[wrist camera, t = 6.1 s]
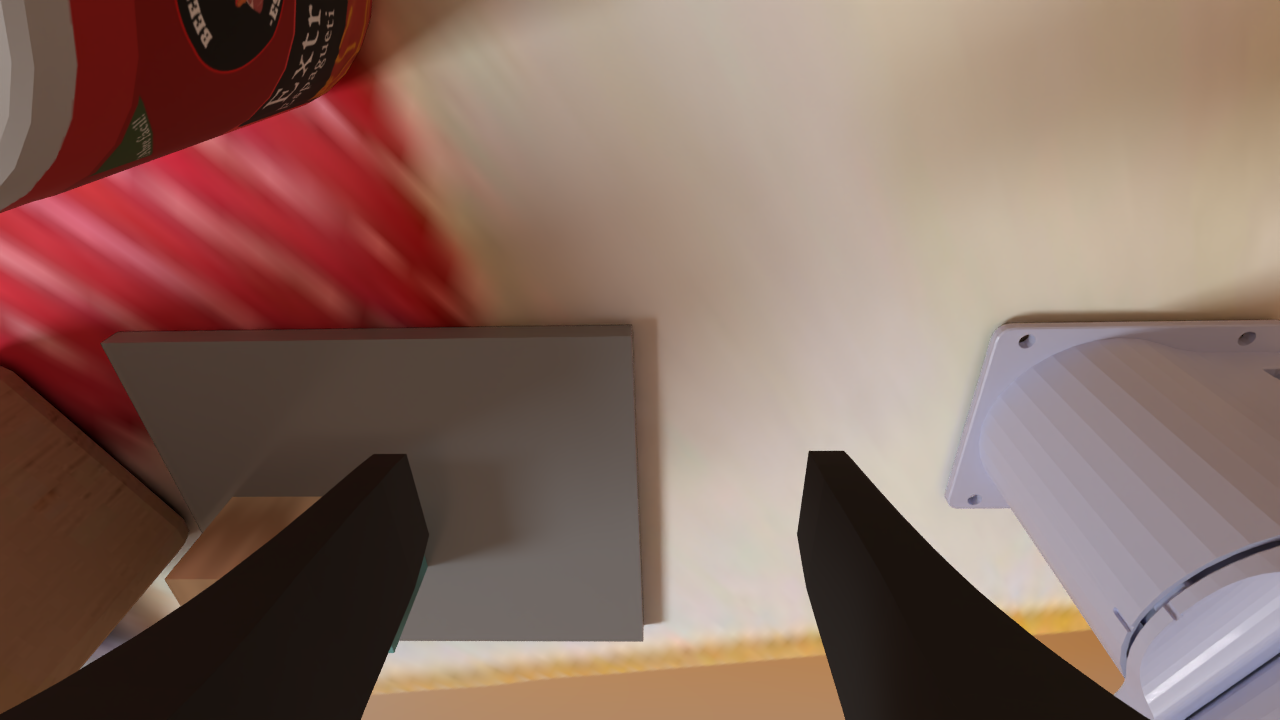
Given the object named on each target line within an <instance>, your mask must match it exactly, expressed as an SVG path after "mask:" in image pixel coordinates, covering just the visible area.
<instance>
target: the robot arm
mask: <svg viewBox="0 0 1280 720" xmlns="http://www.w3.org/2000/svg"><path fill="white" fill-rule="evenodd" d="M1244 333H1245V334H1244ZM1243 334H1244V335H1243ZM1025 335H1029V337H1028V338H1027V339H1026V340H1025V341H1023V342H1020V343H1019V340H1020V339H1021V338H1022V337H1023V336H1025ZM1241 335H1243V336H1242V337H1241V338H1239V337H1240V336H1241ZM972 495H975V496H973V497H971V496H972ZM969 497H970V498H969ZM945 499H946V500H947V502H948V504H949V506H951V507H953V508H1011V510H1012V511H1013V513H1014V514H1015V516H1016V517H1017V519H1018V520H1019V522H1020V523H1021V525H1022V526H1023V528H1024V529H1025V531H1026V532H1027V534H1028V535H1029V537H1030V538H1031V540H1032V541H1033V543H1034V544H1035V545H1036V547H1037V548H1038V550H1039V551H1040V553H1041V554H1042V556H1043V557H1044V559H1045V560H1046V562H1047V563H1048V565H1049V566H1050V568H1051V569H1052V571H1053V572H1054V574H1055V575H1056V577H1057V578H1058V580H1059V581H1060V583H1061V584H1062V586H1063V587H1064V589H1065V590H1066V592H1067V593H1068V595H1069V596H1070V598H1071V599H1072V601H1073V602H1074V604H1075V605H1076V607H1077V608H1078V610H1079V611H1080V613H1081V614H1082V616H1083V617H1084V619H1085V620H1086V621H1087V623H1088V624H1089V626H1090V627H1091V629H1092V630H1093V632H1094V633H1095V635H1096V636H1097V638H1098V639H1099V641H1100V642H1101V643H1102V645H1103V647H1104V648H1105V650H1106V651H1107V653H1108V654H1109V656H1110V657H1111V659H1112V660H1113V662H1114V663H1115V665H1116V666H1117V668H1118V669H1119V671H1120V672H1121V674H1122V675H1123V677H1124V678H1125V681H1124V683H1123V685H1122V686H1121V687H1120V689H1119V690H1118V691H1117V692H1116V693H1115V694H1114V695H1112V694H1111V693H1110V692H1108V691H1107V690H1105V689H1104V688H1102V687H1101V686H1100V685H1098V684H1097V683H1096V682H1094V681H1093V680H1091V679H1090V678H1089V677H1087V676H1086V675H1084V674H1083V673H1082V672H1080V671H1079V670H1078V669H1076V668H1075V667H1073V666H1072V665H1071V664H1069V663H1068V662H1066V661H1065V660H1064V659H1062V658H1061V657H1060V656H1058V655H1057V654H1056V653H1054V652H1053V651H1052V650H1050V649H1049V648H1048V647H1046V646H1045V645H1044V644H1042V643H1041V642H1040V641H1039V640H1037V639H1036V638H1035V637H1033V636H1032V635H1031V634H1030V633H1028V632H1027V631H1026V630H1025V629H1024V628H1022V627H1021V626H1020V625H1019V624H1017V623H1016V622H1015V621H1014V620H1013V619H1011V618H1010V617H1009V616H1008V615H1007V614H1005V613H1004V612H1003V611H1002V610H1000V609H999V608H998V607H997V606H996V605H994V604H993V603H992V602H991V601H990V600H988V599H987V598H986V597H985V596H984V595H983V594H982V593H980V592H979V591H978V590H977V589H976V588H975V587H974V586H973V585H971V584H970V583H969V582H968V581H967V580H966V579H965V578H964V577H963V576H962V575H961V574H960V573H959V572H958V571H957V570H956V569H954V568H953V567H952V566H951V565H950V564H949V563H948V562H947V561H946V560H945V559H944V558H943V557H942V556H941V555H940V554H939V553H938V552H937V551H936V550H935V549H934V548H933V547H932V546H931V545H930V544H929V543H928V542H927V541H926V540H925V539H924V538H923V537H922V536H921V535H920V534H919V533H918V532H917V531H916V530H915V529H914V528H913V526H912V525H911V524H910V523H909V522H908V521H907V520H906V519H905V518H904V517H903V516H902V515H901V514H900V513H899V512H898V511H897V510H896V508H895V507H894V506H893V505H892V504H891V503H890V502H889V501H888V500H887V499H886V497H885V496H884V495H883V494H882V493H881V492H880V491H879V490H878V489H877V487H876V486H875V485H874V484H873V483H872V482H871V481H870V479H869V478H868V477H867V476H866V475H865V474H864V473H863V471H862V470H861V469H860V468H859V467H858V466H857V465H856V463H855V462H854V461H853V460H852V459H851V458H850V457H849V456H848V455H847V454H846V452H845V451H809V454H808V461H807V468H806V475H805V482H804V489H803V496H802V504H801V511H800V518H799V525H798V532H797V536H798V543H799V549H800V555H801V561H802V567H803V572H804V578H805V583H806V588H807V592H808V595H809V599H810V602H811V606H812V609H813V612H814V616H815V619H816V623H817V626H818V629H819V633H820V636H821V639H822V643H823V646H824V649H825V653H826V656H827V659H828V663H829V666H830V669H831V673H832V676H833V679H834V683H835V686H836V689H837V693H838V696H839V699H840V703H841V706H842V709H843V713H844V717H845V720H1280V320H1218V321H1144V322H1069V323H1009V324H1004V325H1002V326H1000V327H998V328H997V329H996V330H995V331H994V332H993V334H992V336H991V339H990V342H989V346H988V349H987V353H986V356H985V359H984V363H983V366H982V370H981V373H980V376H979V380H978V383H977V386H976V390H975V393H974V397H973V400H972V403H971V407H970V410H969V414H968V417H967V420H966V424H965V427H964V430H963V434H962V437H961V441H960V444H959V447H958V451H957V454H956V457H955V461H954V464H953V468H952V471H951V474H950V478H949V481H948V485H947V488H946V491H945ZM428 538H429V532H428V529H427V525H426V522H425V518H424V514H423V511H422V507H421V504H420V500H419V496H418V493H417V489H416V486H415V482H414V479H413V475H412V471H411V468H410V464H409V461H408V457H407V454H373V455H372V456H370V457H369V458H368V459H366V460H365V461H364V462H363V463H361V464H360V465H359V466H358V467H357V468H355V469H354V470H353V471H352V472H351V473H349V474H348V475H347V476H346V477H345V478H343V479H342V480H341V481H340V482H339V483H338V484H336V485H335V486H334V487H333V488H332V489H331V490H329V491H328V492H327V493H326V494H325V495H324V496H322V497H321V498H320V499H319V500H318V501H317V502H315V503H314V504H313V505H312V506H311V507H309V508H308V509H307V510H306V511H305V512H303V513H302V514H301V515H300V516H299V517H297V518H296V519H295V520H294V521H293V522H291V523H290V524H289V525H288V526H287V527H285V528H284V529H283V530H282V531H281V532H279V533H278V534H277V535H276V536H274V537H273V538H272V539H271V540H269V541H268V542H267V543H265V544H264V545H263V546H262V547H260V548H259V549H258V550H256V551H255V552H254V553H252V554H251V555H250V556H249V557H247V558H246V559H245V560H243V561H242V562H241V563H240V564H238V565H237V566H236V567H234V568H233V569H232V570H231V571H229V572H228V573H227V574H225V575H224V576H223V577H221V578H220V579H219V580H217V581H216V582H215V583H213V584H212V585H211V586H209V587H208V588H206V589H205V590H204V591H202V592H201V593H199V594H198V595H196V596H195V597H194V598H192V599H191V600H189V601H188V602H187V603H185V604H184V605H182V606H181V607H179V608H178V609H176V610H175V611H173V612H172V613H170V614H169V615H167V616H166V617H164V618H163V619H161V620H160V621H158V622H157V623H155V624H154V625H152V626H151V627H149V628H148V629H146V630H144V631H143V632H141V633H140V634H138V635H137V636H135V637H133V638H132V639H130V640H128V641H127V642H125V643H123V644H122V645H120V646H118V647H117V648H115V649H113V650H112V651H110V652H108V653H107V654H105V655H103V656H102V657H100V658H98V659H97V660H95V661H93V662H92V663H90V664H88V665H87V666H85V667H83V668H82V669H80V670H78V671H77V672H75V673H73V674H72V675H70V676H68V677H67V678H65V679H63V680H62V681H60V682H58V683H56V684H55V685H53V686H51V687H49V688H47V689H46V690H44V691H42V692H40V693H38V694H36V695H35V696H33V697H31V698H29V699H27V700H26V701H24V702H22V703H20V704H18V705H16V706H15V707H13V708H11V709H9V710H7V711H5V712H3V713H1V714H0V720H361V718H362V715H363V712H364V710H365V707H366V705H367V703H368V700H369V697H370V695H371V693H372V691H373V688H374V686H375V683H376V681H377V679H378V676H379V674H380V672H381V669H382V667H383V664H384V662H385V660H386V657H387V655H388V652H389V650H390V648H391V645H392V643H393V641H394V638H395V636H396V633H397V631H398V629H399V626H400V624H401V621H402V619H403V616H404V614H405V612H406V609H407V607H408V604H409V602H410V599H411V597H412V594H413V592H414V589H415V586H416V583H417V579H418V576H419V572H420V569H421V565H422V562H423V558H424V554H425V550H426V546H427V542H428Z"/></svg>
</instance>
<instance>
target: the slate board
mask: <svg viewBox="0 0 1280 720" xmlns="http://www.w3.org/2000/svg"><path fill="white" fill-rule="evenodd" d="M100 344H101V345H102V347H103V349H104V351H105V353H106V355H107V357H108V359H109V360H110V362H111V364H112V366H113V368H114V370H115V372H116V373H117V375H118V377H119V379H120V381H121V383H122V385H123V386H124V388H125V390H126V392H127V394H128V396H129V398H130V399H131V401H132V403H133V405H134V407H135V409H136V411H137V412H138V414H139V416H140V418H141V420H142V422H143V424H144V425H145V427H146V429H147V431H148V433H149V435H150V437H151V439H152V440H153V442H154V444H155V446H156V448H157V450H158V452H159V453H160V455H161V457H162V459H163V461H164V463H165V465H166V466H167V468H168V470H169V472H170V474H171V476H172V478H173V479H174V481H175V483H176V485H177V487H178V489H179V491H180V492H181V494H182V496H183V498H184V500H185V502H186V504H187V505H188V507H189V509H190V511H191V513H192V515H193V517H194V519H195V520H196V522H197V524H198V526H199V528H200V530H201V532H202V533H203V532H204V531H205V530H206V528H207V527H208V526H209V525H210V524H211V522H212V521H213V520H214V519H215V517H216V516H217V515H218V514H219V513H220V511H221V510H222V509H223V508H224V507H225V505H226V504H227V503H228V502H229V500H230V499H231V498H232V497H322V496H324V495H325V494H326V493H327V492H328V491H329V490H331V489H332V488H333V487H334V486H335V485H336V484H338V483H339V482H340V481H341V480H342V479H343V478H345V477H346V476H347V475H348V474H349V473H351V472H352V471H353V470H354V469H355V468H357V467H358V466H359V465H360V464H361V463H363V462H364V461H365V460H366V459H368V458H369V457H370V456H372V455H373V454H407V457H408V461H409V464H410V468H411V471H412V475H413V479H414V482H415V486H416V489H417V493H418V496H419V500H420V504H421V507H422V511H423V514H424V518H425V522H426V525H427V529H428V532H429V538H428V542H427V546H426V550H425V554H424V555H425V558H426V562H427V565H428V568H427V570H426V573H425V575H424V578H423V581H422V583H421V586H420V588H419V591H418V593H417V596H416V598H415V601H414V603H413V606H412V609H411V611H410V614H409V616H408V619H407V621H406V624H405V626H404V629H403V632H402V634H401V637H400V639H399V641H643V630H644V624H643V598H642V572H641V546H640V520H639V494H638V468H637V442H636V416H635V390H634V364H633V338H632V325H586V326H512V327H438V328H365V329H291V330H217V331H144V332H117V333H115V334H113V335H112V336H110V337H109V338H107V339H106V340H104V341H103V342H101V343H100Z"/></svg>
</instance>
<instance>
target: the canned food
mask: <svg viewBox="0 0 1280 720" xmlns="http://www.w3.org/2000/svg"><path fill="white" fill-rule="evenodd" d="M371 8H372V0H0V213H2V212H4V211H7V210H10V209H13V208H16V207H19V206H21V205H24V204H27V203H30V202H33V201H36V200H40V199H44V198H47V197H51V196H54V195H57V194H60V193H63V192H66V191H68V190H71V189H74V188H77V187H80V186H82V185H85V184H88V183H91V182H93V181H96V180H99V179H102V178H104V177H107V176H110V175H113V174H115V173H118V172H121V171H124V170H126V169H129V168H132V167H135V166H138V165H140V164H143V163H146V162H149V161H151V160H154V159H157V158H160V157H162V156H165V155H168V154H171V153H173V152H176V151H179V150H182V149H185V148H187V147H190V146H193V145H196V144H198V143H201V142H204V141H207V140H209V139H212V138H215V137H218V136H220V135H223V134H226V133H229V132H231V131H234V130H237V129H240V128H243V127H245V126H248V125H251V124H254V123H256V122H259V121H262V120H265V119H267V118H270V117H273V116H276V115H278V114H281V113H284V112H287V111H289V110H292V109H295V108H298V107H301V106H303V105H306V104H308V103H309V102H311V101H313V100H314V99H316V98H318V97H320V96H321V95H323V94H325V93H327V92H328V91H329V90H330V89H331V88H332V87H333V86H334V85H335V84H336V83H337V82H338V81H339V80H340V79H341V78H342V77H343V76H344V75H345V74H346V72H347V71H348V69H349V67H350V66H351V64H352V62H353V60H354V59H355V57H356V55H357V54H358V52H359V50H360V48H361V45H362V43H363V40H364V37H365V34H366V31H367V27H368V24H369V21H370V18H371Z"/></svg>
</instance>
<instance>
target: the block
mask: <svg viewBox="0 0 1280 720" xmlns="http://www.w3.org/2000/svg"><path fill="white" fill-rule="evenodd" d="M188 533H189V529H188V527H187V525H186V523H185V521H184V520H183V518H182V517H181V516H179V515H178V514H177V513H176V512H175V511H174V510H172V509H171V508H170V507H169V506H168V505H167V504H166V503H164V502H163V501H162V500H161V499H160V498H159V497H157V496H156V495H155V494H154V493H153V492H152V491H150V490H149V489H148V488H147V487H146V486H145V485H144V484H142V483H141V482H140V481H139V480H138V479H137V478H135V477H134V476H133V475H132V474H131V473H130V472H129V471H127V470H126V469H125V468H124V467H123V466H122V465H120V464H119V463H118V462H117V461H116V460H115V459H113V458H112V457H111V456H110V455H109V454H108V453H107V452H105V451H104V450H103V449H102V448H101V447H100V446H98V445H97V444H96V443H95V442H94V441H93V440H92V439H90V438H89V437H88V436H87V435H86V434H85V433H83V432H82V431H81V430H80V429H79V428H78V427H77V426H75V425H74V424H73V423H72V422H71V421H70V420H68V419H67V418H66V417H65V416H64V415H63V414H61V413H60V412H59V411H58V410H57V409H56V408H55V407H53V406H52V405H51V404H50V403H49V402H48V401H46V400H45V399H44V398H43V397H42V396H41V395H40V394H38V393H37V392H36V391H35V390H34V389H33V388H31V387H30V386H29V385H28V384H27V383H26V382H24V381H23V380H22V379H21V378H20V377H19V376H18V375H16V374H15V373H14V372H13V371H11V370H9V369H6V368H4V367H2V366H0V714H1V713H3V712H5V711H7V710H9V709H11V708H13V707H15V706H16V705H18V704H20V703H22V702H24V701H26V700H27V699H29V698H31V697H33V696H35V695H36V694H38V693H40V692H42V691H44V690H46V689H47V688H49V687H51V686H53V685H55V684H56V683H58V682H60V681H62V680H63V679H65V678H67V677H68V676H70V675H72V674H73V673H75V672H77V671H78V670H80V668H81V667H82V666H83V665H84V664H85V662H86V661H87V660H88V659H89V658H90V656H91V655H92V654H93V653H94V652H95V651H96V649H97V648H98V647H99V646H100V645H101V643H102V642H103V641H104V640H105V639H106V637H107V636H108V635H109V634H110V633H111V631H112V630H113V629H114V628H115V627H116V626H117V624H118V623H119V622H120V621H121V620H122V618H123V617H124V616H125V615H126V614H127V612H128V611H129V610H130V609H131V608H132V606H133V605H134V604H135V603H136V602H137V600H138V599H139V598H140V597H141V596H142V595H143V593H144V592H145V591H146V590H147V589H148V587H149V586H150V585H151V584H152V583H153V581H154V580H155V579H156V578H157V577H158V575H159V574H160V573H161V572H162V571H163V570H164V568H165V567H166V566H167V565H168V564H169V562H170V561H171V560H172V559H173V558H174V556H175V555H176V554H177V553H178V552H179V550H180V549H181V547H182V546H183V545H184V543H185V541H186V539H187V536H188Z"/></svg>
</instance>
